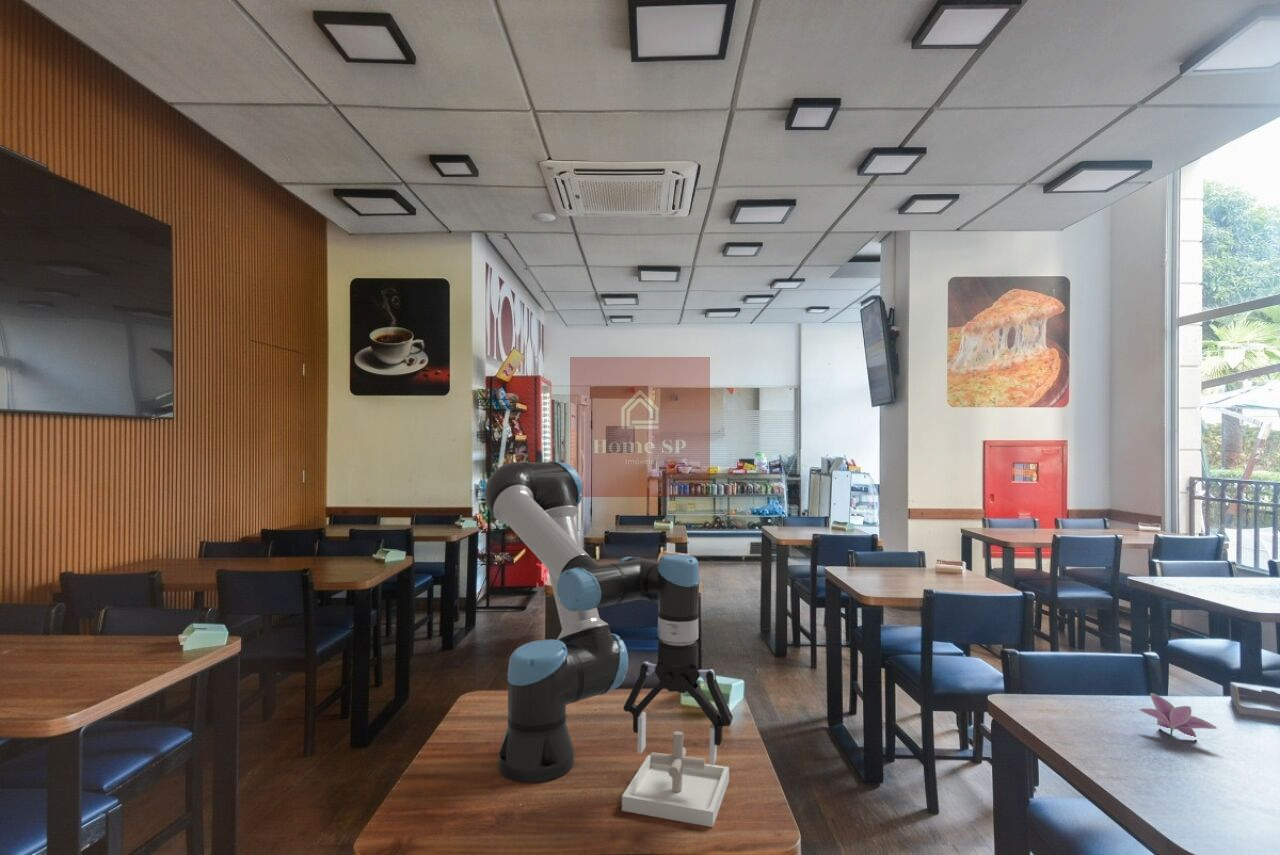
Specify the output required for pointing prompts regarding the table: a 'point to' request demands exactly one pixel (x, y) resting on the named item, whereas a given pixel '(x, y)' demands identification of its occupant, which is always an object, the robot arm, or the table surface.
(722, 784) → the tray
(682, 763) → the pipe connector
